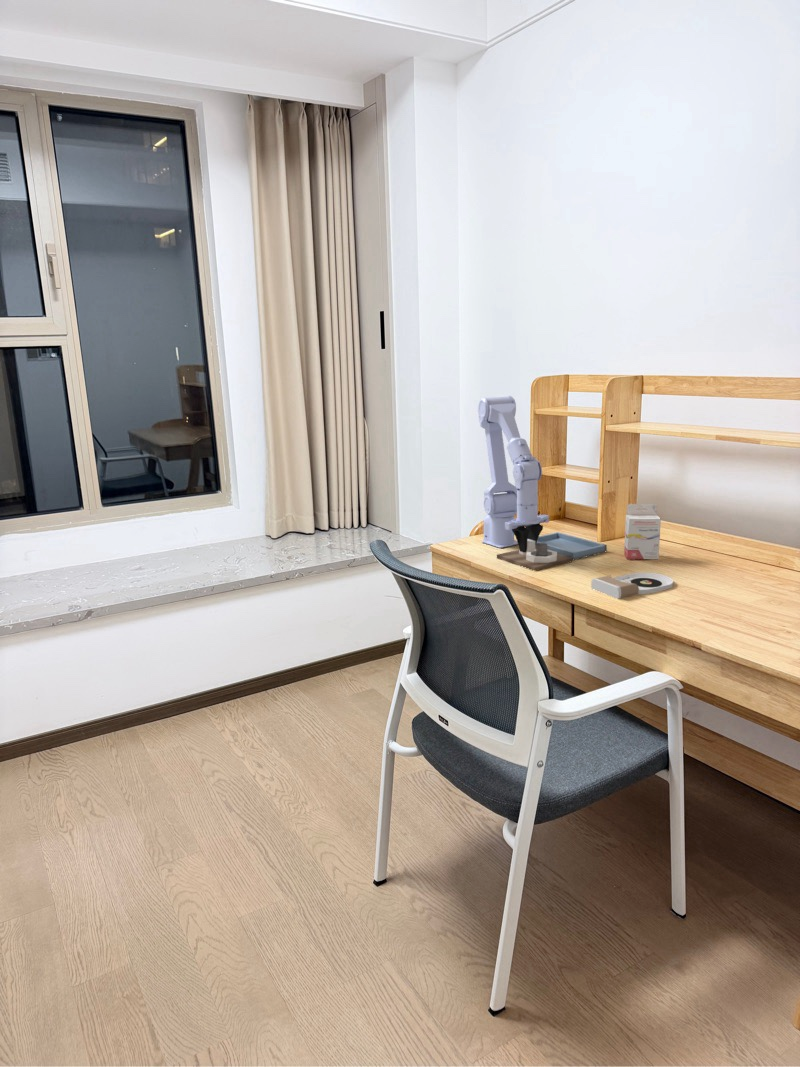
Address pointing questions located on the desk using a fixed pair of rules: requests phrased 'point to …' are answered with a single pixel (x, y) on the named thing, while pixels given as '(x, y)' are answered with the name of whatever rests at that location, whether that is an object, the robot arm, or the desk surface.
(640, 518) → the ink cartridge box
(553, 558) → the ring
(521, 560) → the stake board
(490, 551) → the desk surface
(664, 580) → the record player
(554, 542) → the tray
